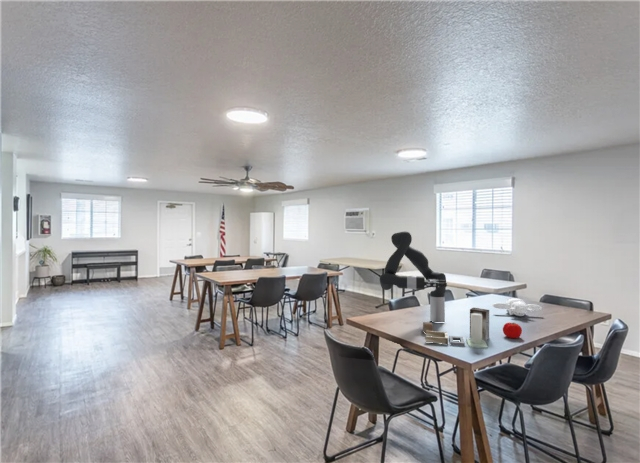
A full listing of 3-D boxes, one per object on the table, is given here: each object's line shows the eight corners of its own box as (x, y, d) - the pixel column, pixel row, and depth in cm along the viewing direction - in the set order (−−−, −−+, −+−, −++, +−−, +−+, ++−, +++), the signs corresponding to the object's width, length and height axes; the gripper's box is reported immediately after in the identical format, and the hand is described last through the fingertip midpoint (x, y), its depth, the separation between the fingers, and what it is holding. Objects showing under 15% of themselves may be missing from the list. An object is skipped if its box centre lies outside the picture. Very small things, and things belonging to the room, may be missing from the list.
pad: (466, 340, 193) (466, 338, 193) (484, 341, 190) (484, 340, 190) (468, 346, 182) (468, 345, 182) (487, 348, 179) (487, 346, 179)
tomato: (500, 337, 197) (500, 322, 198) (506, 333, 205) (506, 319, 205) (518, 341, 191) (518, 325, 191) (524, 337, 198) (524, 322, 198)
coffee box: (469, 337, 198) (469, 309, 198) (473, 334, 203) (472, 307, 203) (486, 340, 192) (486, 311, 192) (489, 337, 197) (489, 309, 197)
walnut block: (423, 332, 209) (423, 322, 209) (430, 332, 209) (430, 322, 209) (425, 334, 205) (425, 324, 205) (432, 334, 204) (432, 324, 204)
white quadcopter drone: (490, 313, 255) (490, 298, 255) (511, 308, 271) (511, 294, 271) (525, 321, 234) (526, 304, 234) (546, 315, 251) (546, 300, 251)
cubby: (426, 336, 200) (426, 330, 200) (446, 338, 196) (446, 332, 196) (425, 343, 188) (425, 336, 188) (447, 345, 184) (447, 338, 184)
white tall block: (470, 340, 189) (470, 312, 190) (481, 341, 188) (481, 313, 188) (471, 343, 184) (471, 315, 184) (483, 344, 182) (482, 315, 183)
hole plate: (449, 338, 196) (449, 335, 196) (462, 339, 194) (462, 336, 194) (450, 345, 184) (450, 342, 184) (464, 346, 182) (464, 343, 182)
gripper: (415, 277, 189) (447, 278, 184) (416, 274, 202) (445, 275, 197) (415, 291, 189) (447, 292, 184) (416, 287, 202) (445, 288, 197)
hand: (446, 283), depth 191 cm, fingers open, 8 cm apart
